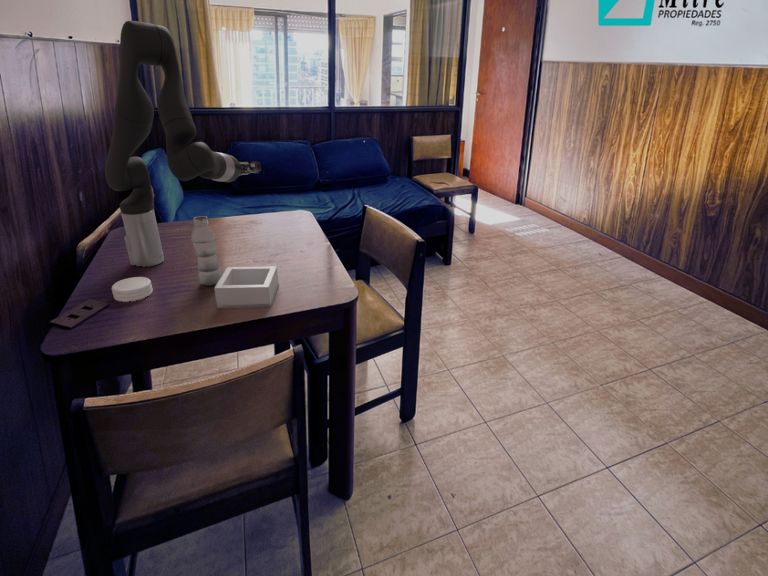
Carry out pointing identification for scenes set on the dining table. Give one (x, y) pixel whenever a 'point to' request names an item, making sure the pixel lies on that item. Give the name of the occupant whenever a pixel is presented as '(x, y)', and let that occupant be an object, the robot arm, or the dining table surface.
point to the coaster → (132, 289)
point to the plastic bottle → (205, 252)
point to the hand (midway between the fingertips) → (243, 171)
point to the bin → (247, 287)
